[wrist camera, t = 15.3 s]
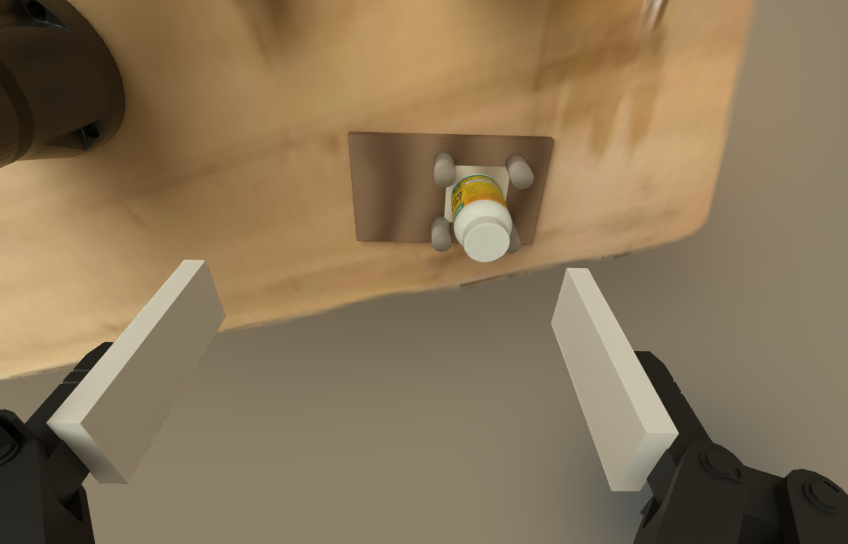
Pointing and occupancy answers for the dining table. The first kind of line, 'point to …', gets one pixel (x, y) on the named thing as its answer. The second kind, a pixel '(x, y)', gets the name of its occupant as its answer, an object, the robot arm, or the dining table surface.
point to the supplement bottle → (481, 217)
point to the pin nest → (441, 182)
